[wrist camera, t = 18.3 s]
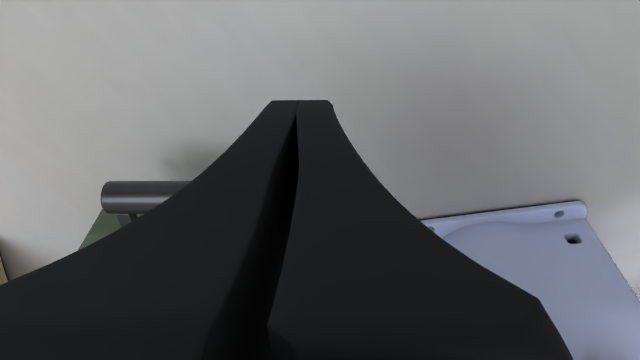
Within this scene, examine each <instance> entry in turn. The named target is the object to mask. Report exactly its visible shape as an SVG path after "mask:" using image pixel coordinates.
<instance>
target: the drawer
mask: <svg viewBox="0 0 640 360" xmlns="http://www.w3.org/2000/svg"><path fill="white" fill-rule="evenodd" d="M190 182H191V181H109V182H107V183H105V185H104V186H103V188H102V192H101V204H102V208H103V209H102V211H101V212H100V214H99V216H98V217H97V219H96V221H95V223H94V224H93V226H92V228H91V229H90V231H89V233H88V234H87V236H86V238H85V239H84V241H83V243H82V244H81V246H80V248H79V249H78V250H80V249H82V248H84V247H86V246H88V245H90V244H92V243H94V242H96V241H98V240H100V239H102V238H103V237H105V236H107V235H109V234H111V233H113V232H115V231H116V230H118V229H120V228H122V227H124V226H125V225H127V224H129V223H130V222H132V221H133V220H135V219H137V218H138V217H140V216H141V215H143V214H145V213H146V212H148V211H149V210H151V209H153V208H154V207H156V206H157V205H159V204H161V203H162V202H164V201H165V200H167V199H168V198H170V197H171V196H172V195H174V194H175V193H177V192H178V191H179V190H181V189H182V188H183V187H185V186H186V185H187V184H189V183H190Z"/></svg>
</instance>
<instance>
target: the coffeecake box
mask: <svg viewBox="0 0 640 360" xmlns="http://www.w3.org/2000/svg"><path fill="white" fill-rule="evenodd" d="M7 282H8V280H7V277H6V275H5V272H4V268H3V264H2V261H1V257H0V285H2V284H4V283H7Z"/></svg>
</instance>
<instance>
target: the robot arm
mask: <svg viewBox="0 0 640 360" xmlns="http://www.w3.org/2000/svg"><path fill="white" fill-rule="evenodd" d="M557 211H559V212H557ZM587 211H588V208H587V206H586V205H585V203H584V202H582V201H573V202H565V203H557V204H549V205H541V206H533V207H525V208H517V209H509V210H501V211H493V212H485V213H477V214H469V215H461V216H453V217H446V218H438V219H430V220H422V221H419V220H418V219H417V218H416V217H415V216H413V215H412V214H411V213H410V212H409V211H408V210H407V209H406V208H405V207H403V206H402V205H401V204H400V203H399V202H398V201H397V200H396V199H395V198H394V197H393V196H392V195H391V194H390V193H389V191H388V190H387V189H386V188H385V187H384V186H383V185H382V184H381V183H380V182H379V180H378V179H377V178H376V177H375V176H374V174H373V173H372V172H371V171H370V169H369V168H368V167H367V166H366V164H365V163H364V162H363V160H362V159H361V157H360V156H359V155H358V153H357V152H356V150H355V149H354V147H353V146H352V144H351V142H350V141H349V139H348V138H347V136H346V134H345V133H344V131H343V129H342V127H341V125H340V123H339V121H338V119H337V117H336V115H335V112H334V109H333V105H332V104H331V103H330V102H329V101H328V100H279V101H271V102H270V103H269V104H268V105H267V106H266V107H265V108H264V109H263V111H262V112H261V113H260V114H259V115H258V117H257V118H256V119H255V120H254V121H253V122H252V123H251V125H250V126H249V127H248V128H247V129H246V130H245V131H244V132H243V134H242V135H241V136H240V137H239V138H238V139H237V140H236V141H235V142H234V143H233V144H232V145H231V146H230V147H229V148H228V149H227V150H226V151H225V152H224V153H223V154H222V155H221V156H220V157H219V158H218V159H217V160H216V161H215V162H214V163H212V164H211V165H210V166H209V167H208V168H207V169H206V170H205V171H204V172H202V173H201V174H200V175H199V176H198V177H196V178H195V179H194V180H193V181H191V182H190V183H189V184H187V185H186V186H185V187H183V188H182V189H181V190H179V191H178V192H177V193H175V194H174V195H172V196H171V197H170V198H168V199H167V200H165V201H164V202H162V203H161V204H159V205H157V206H156V207H154V208H153V209H151V210H149V211H148V212H146V213H145V214H143V215H141V216H140V217H138V218H137V219H135V220H133V221H132V222H130V223H129V224H127V225H125V226H124V227H122V228H120V229H118V230H116V231H115V232H113V233H111V234H109V235H107V236H105V237H103V238H102V239H100V240H98V241H96V242H94V243H92V244H90V245H88V246H86V247H84V248H82V249H80V250H78V251H76V252H74V253H72V254H70V255H68V256H66V257H64V258H62V259H60V260H57V261H55V262H53V263H51V264H49V265H46V266H44V267H42V268H39V269H37V270H35V271H32V272H30V273H28V274H25V275H23V276H21V277H18V278H16V279H14V280H11V281H9V282H7V283H4V284H2V285H0V360H640V301H639V300H638V298H637V296H636V295H635V293H634V292H633V290H632V289H631V287H630V286H629V284H628V282H627V281H626V279H625V278H624V276H623V275H622V273H621V272H620V270H619V269H618V267H617V266H616V264H615V263H614V261H613V260H612V258H611V256H610V255H609V253H608V252H607V250H606V249H605V247H604V246H603V244H602V243H601V241H600V240H599V238H598V237H597V235H596V233H595V232H594V230H593V229H592V227H591V226H590V224H589V223H588V221H587V220H586V215H587ZM556 212H557V213H556ZM428 227H432V228H428Z"/></svg>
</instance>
